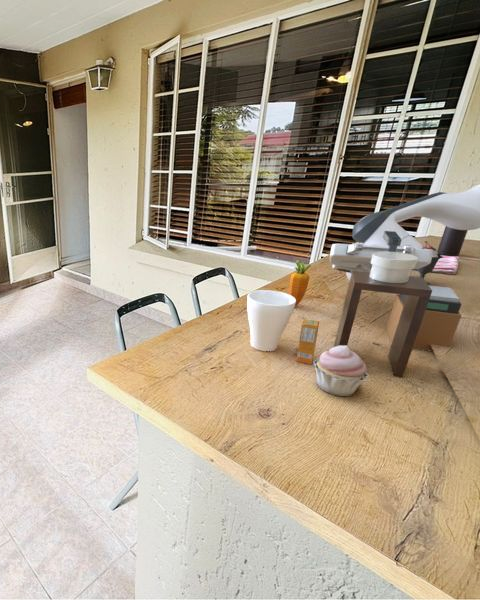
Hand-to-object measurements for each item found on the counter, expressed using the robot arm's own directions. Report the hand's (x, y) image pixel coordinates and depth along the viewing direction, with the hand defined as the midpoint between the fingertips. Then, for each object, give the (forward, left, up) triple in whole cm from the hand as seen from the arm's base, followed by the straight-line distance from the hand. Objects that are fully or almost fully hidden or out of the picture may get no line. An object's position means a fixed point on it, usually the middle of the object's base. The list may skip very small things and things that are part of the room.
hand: (383, 246), depth 85 cm
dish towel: (-26, -80, -24) cm, 88 cm away
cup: (+21, +19, -24) cm, 37 cm away
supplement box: (+12, +22, -24) cm, 34 cm away
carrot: (+16, -12, -24) cm, 31 cm away
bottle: (-36, -100, -24) cm, 109 cm away
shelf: (0, +16, -23) cm, 28 cm away
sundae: (-20, -53, -24) cm, 61 cm away
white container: (0, +11, -3) cm, 11 cm away
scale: (-11, -1, -23) cm, 26 cm away
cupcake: (+6, +31, -24) cm, 39 cm away
